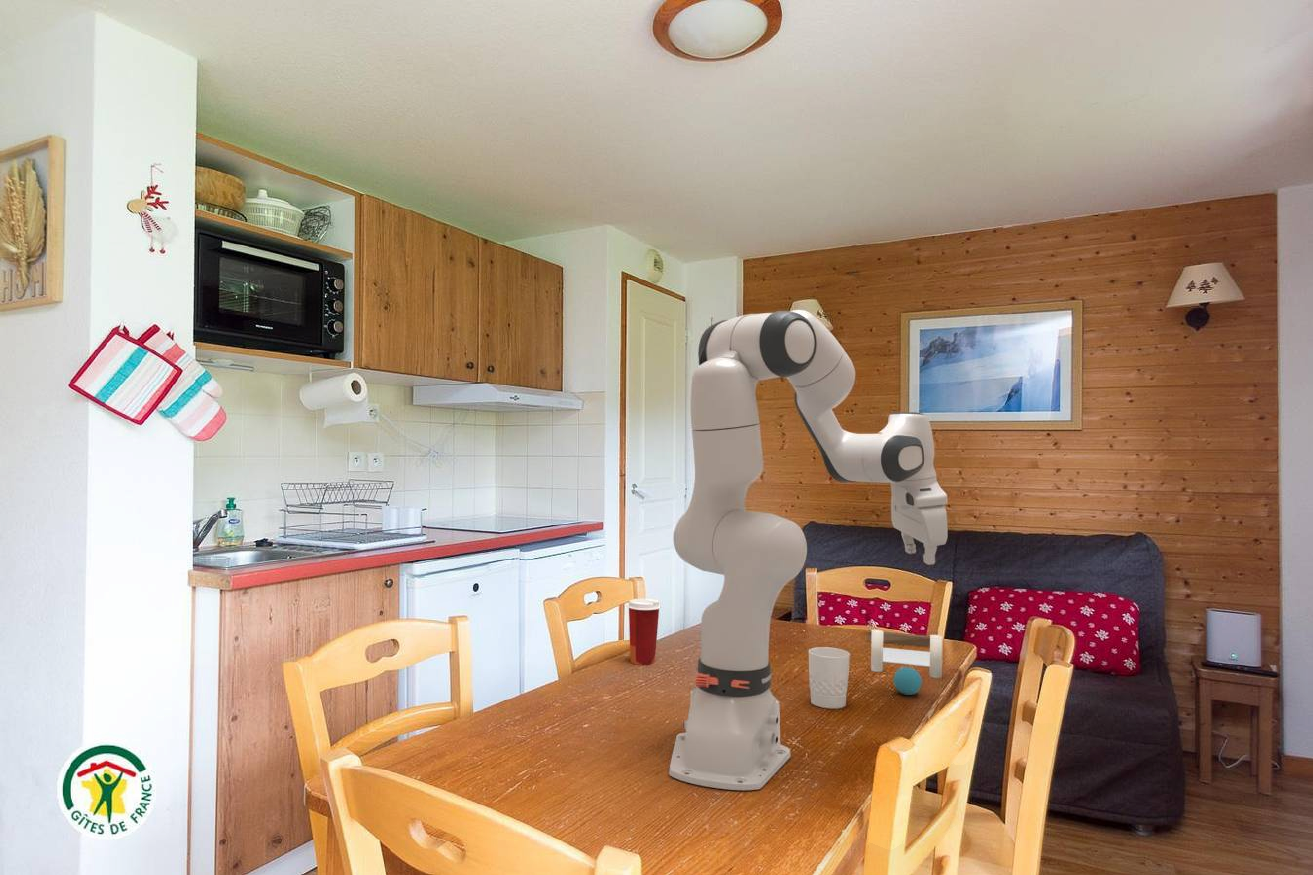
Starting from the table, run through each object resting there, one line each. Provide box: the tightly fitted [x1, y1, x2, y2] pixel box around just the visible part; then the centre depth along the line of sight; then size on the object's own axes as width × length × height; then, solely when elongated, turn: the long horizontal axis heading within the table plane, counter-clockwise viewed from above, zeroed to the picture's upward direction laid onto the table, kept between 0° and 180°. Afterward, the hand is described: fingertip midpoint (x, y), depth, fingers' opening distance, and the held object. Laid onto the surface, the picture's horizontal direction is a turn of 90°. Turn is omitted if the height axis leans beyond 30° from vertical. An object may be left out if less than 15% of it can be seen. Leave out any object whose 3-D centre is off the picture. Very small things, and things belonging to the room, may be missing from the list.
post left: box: [870, 628, 885, 673], centre depth 172 cm, size 3×3×9 cm
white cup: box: [808, 646, 851, 710], centre depth 148 cm, size 8×8×10 cm
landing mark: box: [883, 647, 930, 668], centre depth 184 cm, size 14×14×1 cm
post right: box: [928, 634, 943, 679], centre depth 168 cm, size 3×3×9 cm
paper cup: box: [626, 597, 662, 666], centre depth 174 cm, size 8×8×14 cm
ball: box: [893, 666, 923, 696], centre depth 155 cm, size 6×6×6 cm
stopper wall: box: [867, 629, 930, 647], centre depth 198 cm, size 2×18×2 cm, turn 73°
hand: (919, 558), depth 153 cm, fingers open, 8 cm apart
